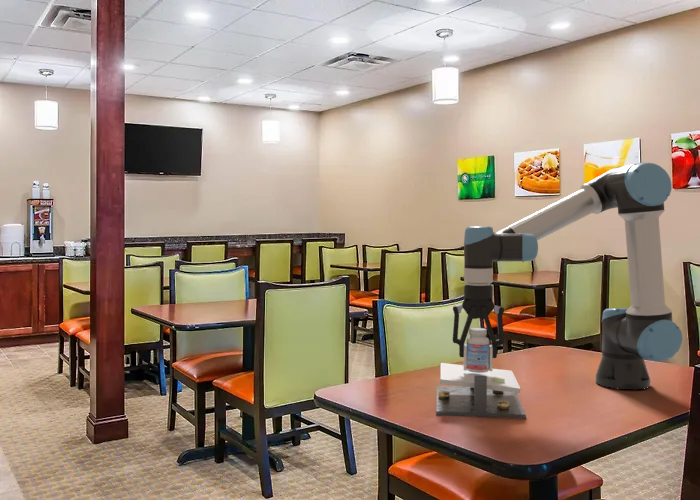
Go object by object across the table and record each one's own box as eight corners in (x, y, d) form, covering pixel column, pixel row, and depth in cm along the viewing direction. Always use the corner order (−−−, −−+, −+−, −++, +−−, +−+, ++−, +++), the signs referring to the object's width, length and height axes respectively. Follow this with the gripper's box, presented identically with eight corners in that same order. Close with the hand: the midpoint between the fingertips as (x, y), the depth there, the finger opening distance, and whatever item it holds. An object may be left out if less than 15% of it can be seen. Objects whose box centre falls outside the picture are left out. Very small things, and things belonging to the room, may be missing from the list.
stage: (511, 374, 182) (511, 367, 182) (520, 394, 160) (521, 386, 160) (440, 366, 185) (441, 359, 185) (440, 384, 163) (440, 377, 163)
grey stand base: (514, 391, 184) (514, 357, 184) (525, 418, 158) (526, 378, 158) (437, 389, 187) (437, 355, 187) (436, 415, 162) (436, 375, 161)
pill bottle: (466, 372, 170) (466, 330, 170) (466, 367, 176) (466, 327, 176) (489, 373, 169) (489, 331, 168) (489, 368, 175) (489, 327, 174)
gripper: (513, 283, 174) (512, 367, 175) (442, 282, 177) (442, 365, 178) (516, 285, 167) (515, 373, 167) (442, 284, 169) (442, 371, 170)
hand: (477, 369), depth 172 cm, fingers closed on pill bottle, 6 cm apart
